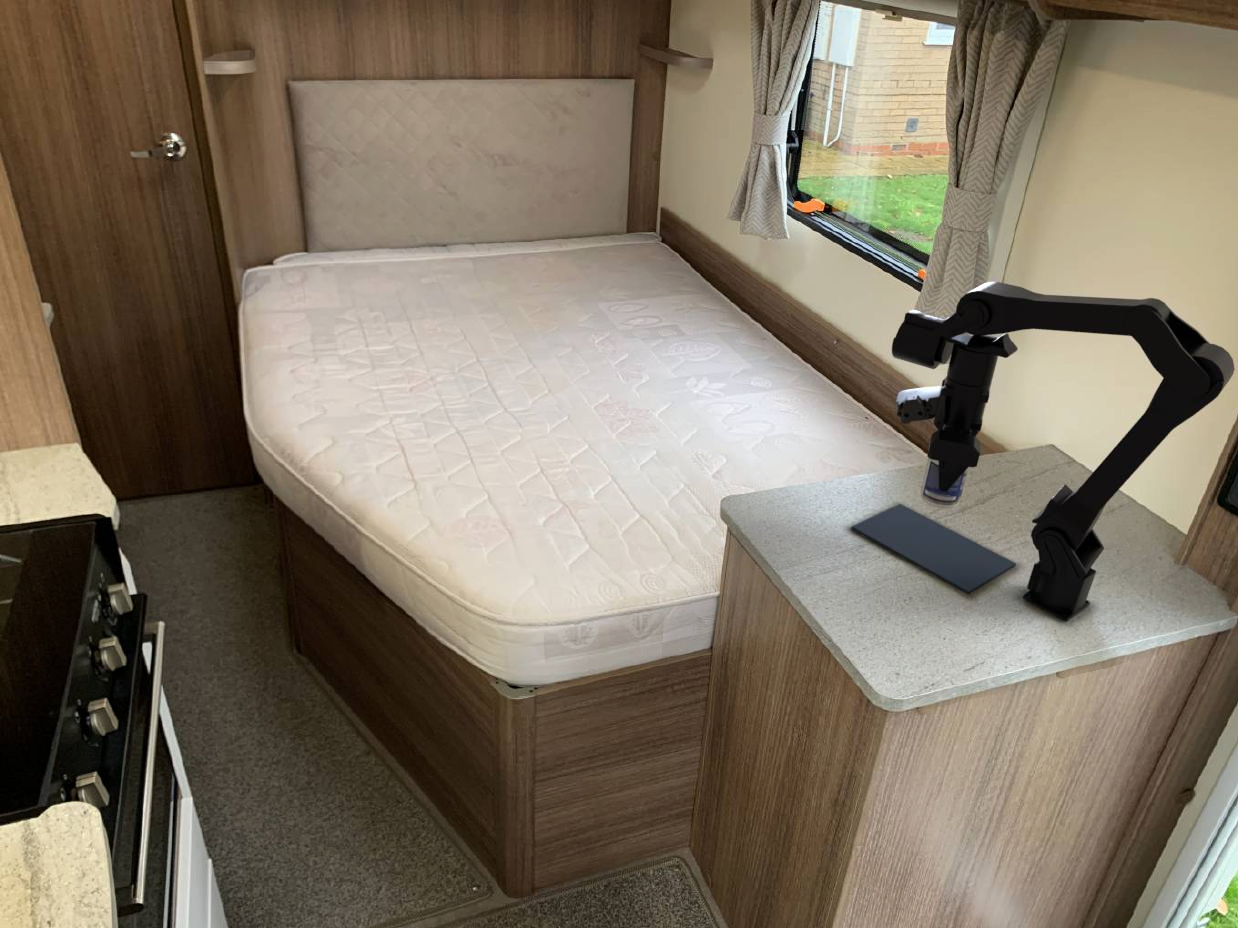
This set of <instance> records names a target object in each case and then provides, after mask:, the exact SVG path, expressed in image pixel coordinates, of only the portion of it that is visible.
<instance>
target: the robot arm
mask: <svg viewBox="0 0 1238 928" xmlns="http://www.w3.org/2000/svg"><path fill="white" fill-rule="evenodd" d="M1024 330H1040V331H1041V330H1042V331H1043V330H1045V331H1057V332H1071V333H1083V334H1084V333H1085V334H1097V335H1098V334H1099V335H1100V334H1101V335H1112V336H1123V337H1125V336H1127V337H1132V338H1133V340H1135V342H1136V343H1137V344H1138V345H1139V346H1140V349H1141V350H1142V351H1143V353H1144V354H1145V356H1146V358H1147V359H1148V361H1149V363H1150V365H1152V367H1153V368H1154V369H1155V371H1156V372H1157V373H1158V374H1159V375H1160V376H1161V378H1162V379H1161V381H1160V383H1159V385H1158V387H1157V389H1156V390H1155V392H1154V394H1153V396H1152V397H1151V400H1150V402H1149V404H1148V406H1147V408H1146V410H1145V412H1144V413H1143V414H1142V415H1141V416H1140V417H1139V418H1138V420H1137V421H1136V422H1135V423H1134V424H1133V425H1132V426H1131V428H1130V429H1129V430H1128V431H1127V433H1125V435H1124V436H1123V437H1122V438H1121V439H1120V441H1118V443H1117V444H1116V445H1115V446H1114V447H1113V448H1112V450H1110V452H1109V453H1108V454H1107V456H1105V458H1104V459H1103V460H1102V461H1101V463H1100V464H1099V465H1098V466H1097V467H1096V468H1095V470H1093V472H1092V473H1091V474H1090V475H1089V476H1088V478H1087V479H1086V480H1085V481H1084V482H1083V483H1082V484H1081V485H1079V486H1078V487H1076V488H1075V489H1071V488H1070V487H1069V486H1068V485H1067V483H1064V484H1063V485H1062V486H1061V487H1060V488H1059V489H1058V490H1057V492H1056V493H1055V494H1054V495H1053V496H1052V497H1051V498H1050V499H1049V501H1048V502H1047V503H1046V504H1045V506H1044V507H1043V508H1042V509H1041V510H1040V511H1039V512H1038V513H1037V515H1035V516H1034V518H1033V519H1032V520H1031V523H1032V524H1035V526H1034V527H1033V528H1032V529H1031V532H1030V538H1031V541H1032V544H1033V546H1034V547H1035V549H1036V550H1037V551H1038V558H1039V559H1038V560H1039V561H1037V562H1035V563H1033V567H1032V570H1031V573H1030V576H1029V579H1028V582H1027V586H1026V588H1027V591H1025V592H1024V593H1023V594H1022V600H1025V601H1026V602H1028V603H1030V604H1032V605H1033V606H1036V607H1038V608H1040V609H1041V610H1043V611H1045V612H1046V613H1048V614H1050V615H1052V616H1054V617H1056V618H1057V619H1060V620H1062V621H1064V622H1068V621H1070V620H1072V619H1073V618H1074V617H1076V616H1077V615H1078V614H1080V613H1081V612H1083V611H1085V609H1087V608H1088V607H1090V605H1091V602H1090V600H1088V596H1089V593H1090V590H1091V588H1092V585H1093V582H1094V580H1095V576H1096V574H1097V570H1095V569H1093V568H1092V566H1093V565H1094V564H1095V562H1096V561H1097V559H1099V557H1100V555H1101V554H1102V553H1103V551H1104V550H1105V546H1104V545H1103V543H1102V541H1101V540H1100V538H1099V536H1098V535H1097V533H1096V532H1095V530H1094V527H1095V526H1096V524H1097V522H1098V520H1099V519H1100V517H1101V516H1102V515H1101V514H1102V513H1103V510H1104V509H1105V507H1106V506H1107V503H1109V502H1110V500H1111V499H1112V498H1113V497H1114V496H1115V494H1116V493H1117V492H1118V491H1119V490H1120V489H1121V488H1122V487H1123V486H1124V485H1125V483H1126V482H1127V481H1128V480H1129V479H1130V478H1131V477H1132V476H1133V474H1134V473H1135V472H1136V471H1137V470H1139V468H1140V467H1141V465H1143V464H1144V462H1145V461H1146V460H1147V459H1148V458H1149V457H1150V455H1152V453H1154V451H1155V450H1156V449H1157V448H1158V447H1159V446H1160V445H1161V444H1162V442H1163V441H1164V440H1165V439H1166V438H1167V437H1168V436H1169V434H1171V432H1173V430H1175V429H1176V428H1177V427H1178V426H1179V427H1180V426H1181V425H1182V424H1183V423H1185V422H1186V421H1188V420H1189V419H1190V418H1192V417H1194V416H1195V415H1196V414H1198V413H1199V412H1200V411H1201V410H1203V409H1205V408H1206V407H1207V406H1208V405H1210V404H1211V403H1212V402H1213V401H1215V399H1217V398H1218V397H1219V396H1220V394H1221V393H1222V391H1223V390H1224V388H1225V387H1226V386H1227V384H1228V383H1229V382H1230V380H1231V378H1232V377H1233V375H1234V374H1235V373H1234V372H1235V364H1234V359H1233V357H1232V355H1231V354H1230V352H1229V351H1227V350H1226V349H1225V348H1224V347H1222V346H1220V345H1218V344H1215V343H1210V342H1209V341H1208V340H1207V338H1206V337H1204V336H1203V334H1202V333H1201V332H1200V331H1198V330H1197V329H1196V328H1195V327H1194V326H1192V325H1191V324H1189V323H1188V322H1186V321H1185V320H1184V319H1182V318H1181V317H1179V316H1178V315H1177V314H1176V313H1175V312H1174V311H1173V310H1172V309H1171V308H1170V307H1169V306H1168V305H1167V304H1166V302H1165V301H1163V300H1161V299H1159V298H1154V297H1147V298H1143V299H1142V298H1141V299H1140V298H1139V299H1137V298H1120V297H1119V298H1118V297H1117V298H1116V297H1097V296H1096V297H1095V296H1080V295H1079V296H1077V295H1061V294H1043V293H1038V292H1034V291H1032V290H1030V289H1027V288H1024V287H1022V286H1019V285H1013V284H1009V283H1005V282H1000V281H989V282H985V283H983V284H981V285H979V286H978V287H975V288H974V289H972V290H970V291H968V292H967V293H965V294H964V295H962V297H960V299H959V301H958V302H957V304H956V309H955V312H954V313H953V314H951V315H950V316H949V317H948V316H947V318H945V319H944V318H940V317H936V316H932V315H928V314H926V313H923V312H922V311H919V310H915V309H912V310H910V311H908V312H906V313H905V314H904V319H903V321H902V322H901V324H900V325H899V328H898V329H897V332H896V335H895V336H894V338H893V339H892V344H891V355H892V357H893V358H894V359H898V360H900V361H904V362H908V363H911V364H913V365H914V364H915V365H918V366H921V367H925V368H927V369H931V370H936V368H938V367H939V366H940V365H945V364H947V362H948V361H949V363H948V368H947V372H946V375H945V377H943V378H942V382H941V386H924V387H918V388H917V387H915V388H910V389H904V390H901V391H899V392H898V393H897V396H896V399H895V404H896V410H897V411H896V416H897V417H898V420H899V421H898V422H899V423H900V424H901V425H902V424H904V425H906V424H910V423H913V422H920V421H926V420H927V421H928V420H932V419H933V425H934V427H935V429H937V430H936V431H934V432H932V433H931V436H930V440H929V445H928V449H927V450H928V451H927V455H926V458H930V459H932V460H937V461H939V490H940V491H944V492H947V491H948V490H949V489H950V488H951V486H952V485H953V484H954V483H955V482H956V481H957V479H958V478H959V477H960V476H961V475H962V474H963V473H964V472H965V470H966V469H967V468H968V469H969V468H976V467H977V466H978V463H979V459H980V456H981V446H982V444H981V441H980V440H979V439H978V437H977V435H978V434H979V432H981V430H982V427H983V419H984V414H985V409H986V407H987V404H988V403H989V398H990V392H991V391H990V390H991V386H992V382H993V378H994V374H995V370H996V367H997V362H998V358H999V357H1000V358H1004V359H1007V358H1009V357H1010V356H1012V355H1014V354H1015V353H1016V352H1017V351H1018V346H1017V345H1016V344H1015V343H1014V342H1013V340H1012V339H1011V337H1010V335H1009V333H1014V332H1019V331H1024ZM968 334H969V335H968ZM993 335H1000V336H998V337H997V336H993Z"/></svg>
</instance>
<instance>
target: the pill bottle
mask: <svg viewBox="0 0 1238 928" xmlns="http://www.w3.org/2000/svg"><path fill="white" fill-rule="evenodd" d="M927 458H928V457H927ZM968 471H969V467H968V468H967V469H966V470H965V472H964V473H963V474H962V475H961V476H960V477H959V478H958V479H957V481H956V482H955V483H954V484H953V485H952V486H951V488H950V489H949V490H948V491H947V492H944V491H940V490H939V461H937V460H932V459H930V458H928V459H927V463H926V467H925V471H924V477H923V482H922V484H921V488H920V494H919V495H920V498H921V500H922V501H923V502H924V503H926V504H927V505H929V506H931V507H934V508H938V509H953V508H955V507H957V506H958V505H960V502H961V498H962V494H963V491H964V488H965V487H964V486H965V484H966V483H965V482H966V479H967V475H968Z"/></svg>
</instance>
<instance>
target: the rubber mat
mask: <svg viewBox="0 0 1238 928" xmlns="http://www.w3.org/2000/svg"><path fill="white" fill-rule="evenodd" d="M851 530H852V531H854V532H855V533H857V534H859V535H861V536H862V537H864V538H866V539H867V540H869V541H871V542H873V543H875V544H877V545H878V546H881V547H882V548H884V549H886V550H888V551H889V552H891V553H892V554H894V555H896V556H898V557H900V558H902V559H904V560H906V561H907V562H909V563H910V564H913V565H914V566H916V567H918V568H920V569H921V570H923V571H925V572H926V573H929V574H930V575H932V576H934V577H935V578H937V579H939V580H941V581H943V582H945V583H947V584H948V585H950V586H951V587H954V588H955V589H957V590H959V591H961V592H963V593H964V594H966V595H970V594H972V593H973V592H975V591H977V590H978V589H980V588H982V587H983V586H985V585H987V584H988V583H990V582H992V581H993V580H995V579H997V578H998V577H1000V576H1001V575H1003V574H1005V573H1006V572H1008V571H1009V570H1011V569H1013V568H1014V567H1016V565H1017V563H1016V562H1014V561H1012V560H1010V559H1008V558H1006V557H1004V556H1003V555H1001V554H998V553H997V552H995V551H993V550H991V549H989V548H987V547H985V546H983V545H981V544H979V543H977V542H975V541H973V540H972V539H970V538H968V537H966V536H964V535H962V534H960V533H958V532H956V531H954V530H952V529H951V528H948V527H946V526H944V525H942V524H941V523H938V522H936V521H935V520H933V519H932V518H931V519H930V518H929V517H927V516H925V515H923V514H921V513H919V512H917V511H915V510H913V509H911V508H909V507H907V506H906V505H903V504H902V503H898V504H897V505H894V506H892V507H890V508H888V509H886V510H884V511H882V512H879V513H878V514H875V515H874V516H871V517H869V518H867V519H865V520H862V521H861V522H859V523H857V524H854V525H852V526H851Z"/></svg>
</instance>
